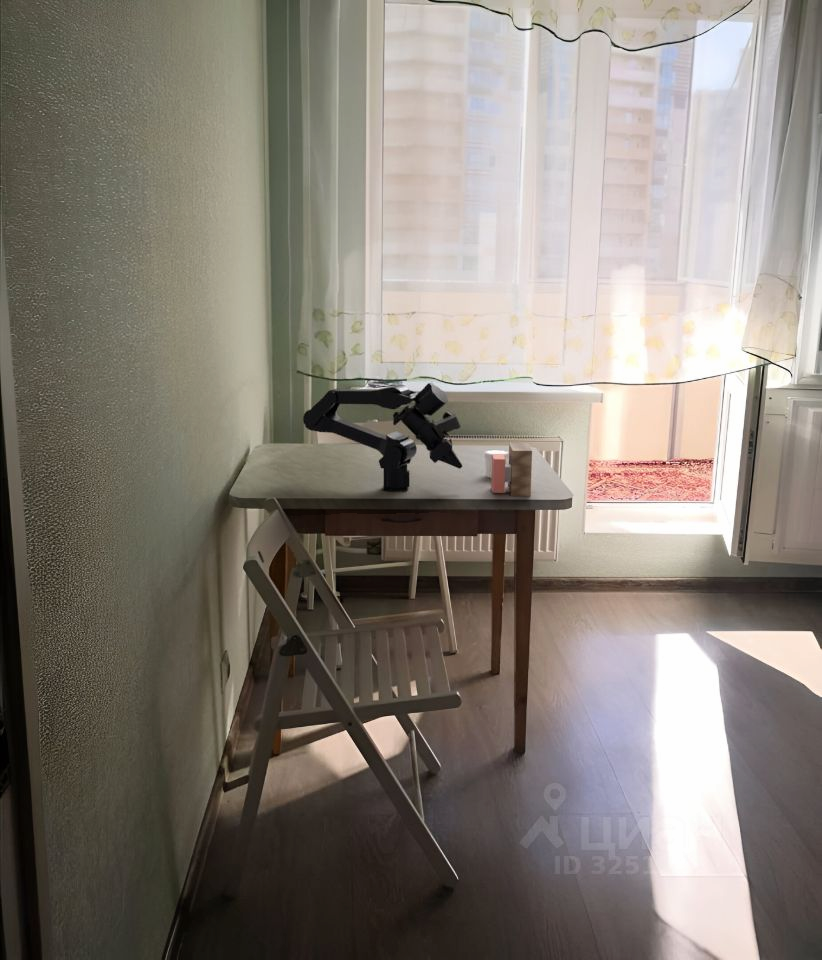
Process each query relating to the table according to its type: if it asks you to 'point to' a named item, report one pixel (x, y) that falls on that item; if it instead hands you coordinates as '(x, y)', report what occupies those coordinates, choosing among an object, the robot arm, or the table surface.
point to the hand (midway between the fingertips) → (461, 467)
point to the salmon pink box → (500, 473)
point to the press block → (520, 469)
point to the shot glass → (489, 460)
